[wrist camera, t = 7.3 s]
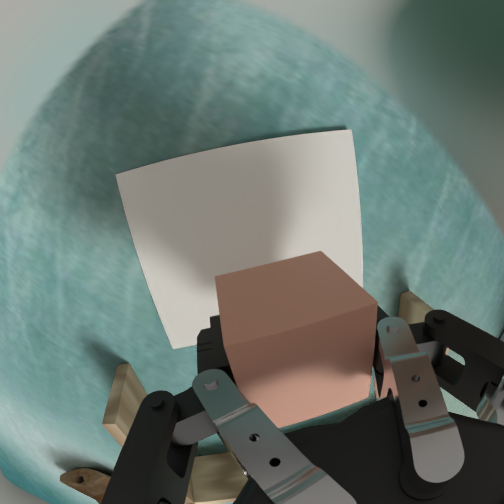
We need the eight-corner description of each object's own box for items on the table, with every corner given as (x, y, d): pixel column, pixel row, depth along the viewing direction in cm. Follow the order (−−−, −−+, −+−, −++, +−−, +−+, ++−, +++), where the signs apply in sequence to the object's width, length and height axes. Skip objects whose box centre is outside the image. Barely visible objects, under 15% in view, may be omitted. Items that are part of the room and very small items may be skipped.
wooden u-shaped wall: (409, 290, 21) (455, 327, 16) (389, 405, 27) (412, 440, 21) (117, 364, 19) (102, 424, 13) (185, 461, 25) (187, 505, 19)
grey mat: (347, 129, 16) (351, 129, 16) (359, 297, 20) (362, 300, 20) (117, 173, 15) (115, 174, 14) (173, 344, 19) (173, 349, 19)
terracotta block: (321, 250, 13) (377, 302, 9) (326, 334, 15) (368, 397, 10) (214, 276, 13) (224, 346, 8) (237, 359, 15) (254, 433, 10)
